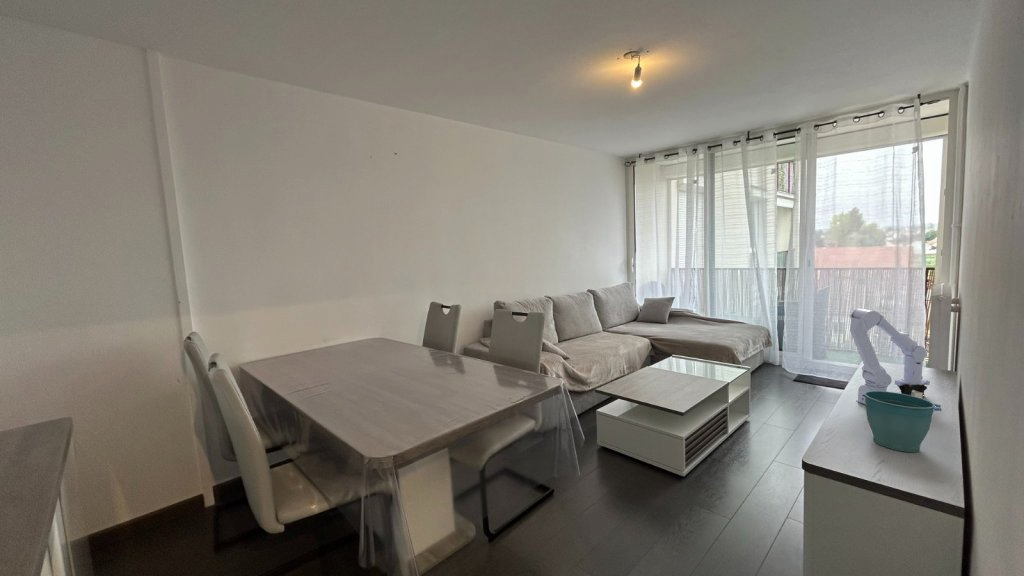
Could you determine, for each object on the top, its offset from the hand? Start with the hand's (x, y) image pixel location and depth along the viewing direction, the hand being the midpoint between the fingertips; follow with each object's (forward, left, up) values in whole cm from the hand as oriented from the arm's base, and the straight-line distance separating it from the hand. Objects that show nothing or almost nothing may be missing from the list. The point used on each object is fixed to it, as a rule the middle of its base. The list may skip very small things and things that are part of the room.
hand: (911, 400), depth 182 cm
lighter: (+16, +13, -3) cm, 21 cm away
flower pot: (-45, -36, -3) cm, 58 cm away
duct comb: (+3, +1, -2) cm, 4 cm away
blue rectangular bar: (+6, -5, -2) cm, 8 cm away
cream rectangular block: (0, 0, -2) cm, 2 cm away
